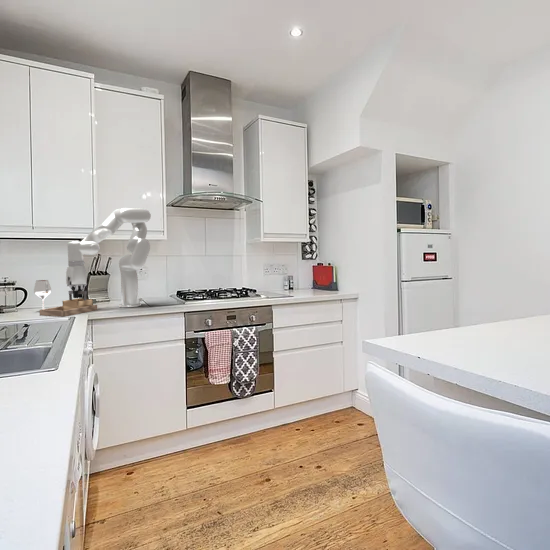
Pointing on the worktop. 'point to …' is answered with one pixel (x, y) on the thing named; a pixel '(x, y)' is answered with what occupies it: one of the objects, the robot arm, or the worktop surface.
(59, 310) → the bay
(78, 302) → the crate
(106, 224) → the robot arm
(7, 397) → the worktop surface
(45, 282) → the wineglass
